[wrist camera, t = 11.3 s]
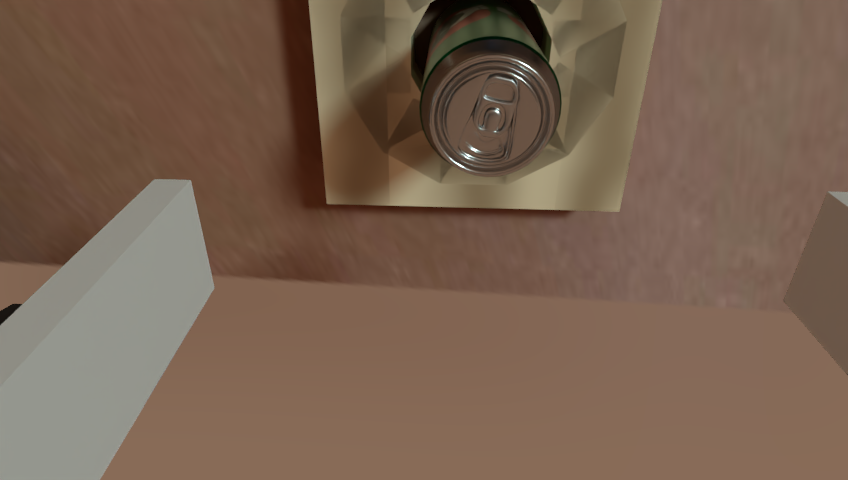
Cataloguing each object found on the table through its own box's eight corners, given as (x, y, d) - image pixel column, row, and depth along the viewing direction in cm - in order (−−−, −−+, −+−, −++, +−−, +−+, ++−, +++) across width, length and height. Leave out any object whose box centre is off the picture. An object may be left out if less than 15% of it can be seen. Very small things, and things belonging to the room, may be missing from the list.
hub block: (336, 181, 34) (326, 205, 31) (311, -140, 26) (294, -146, 23) (606, 188, 33) (620, 213, 31) (667, -138, 25) (693, -144, 23)
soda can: (421, 82, 31) (404, 171, 20) (441, -18, 28) (435, 26, 18) (511, 102, 31) (540, 200, 21) (539, 5, 29) (589, 62, 18)
